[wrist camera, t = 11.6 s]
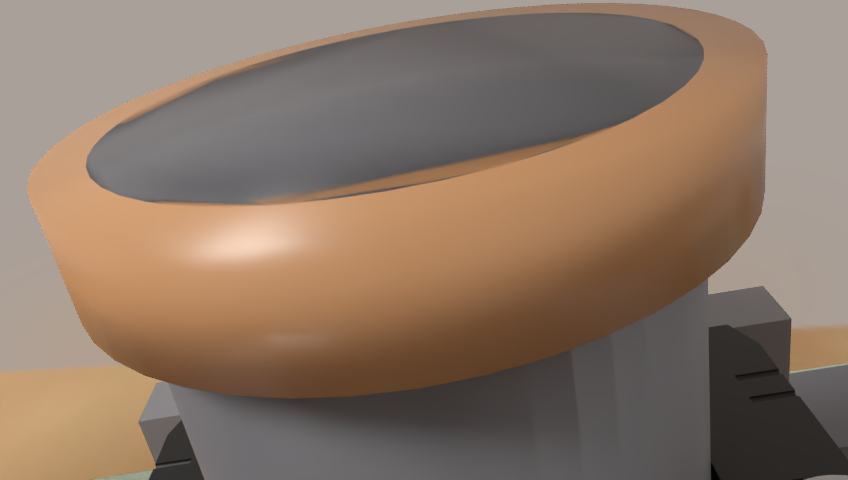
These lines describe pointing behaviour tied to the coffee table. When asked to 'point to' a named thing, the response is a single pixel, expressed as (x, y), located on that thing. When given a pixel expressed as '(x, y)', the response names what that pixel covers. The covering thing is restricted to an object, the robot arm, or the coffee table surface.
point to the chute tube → (427, 243)
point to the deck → (741, 309)
